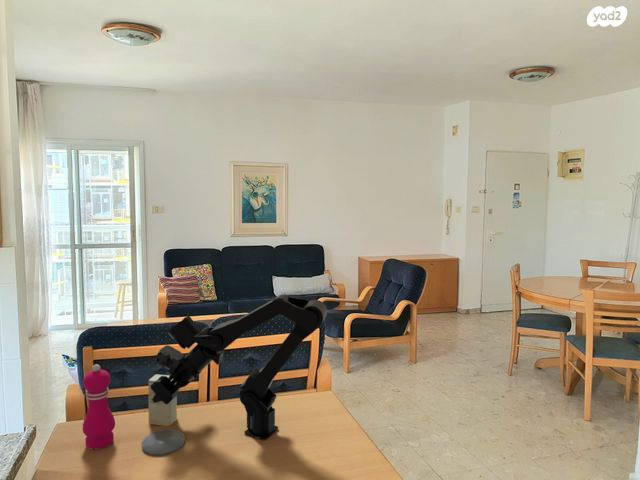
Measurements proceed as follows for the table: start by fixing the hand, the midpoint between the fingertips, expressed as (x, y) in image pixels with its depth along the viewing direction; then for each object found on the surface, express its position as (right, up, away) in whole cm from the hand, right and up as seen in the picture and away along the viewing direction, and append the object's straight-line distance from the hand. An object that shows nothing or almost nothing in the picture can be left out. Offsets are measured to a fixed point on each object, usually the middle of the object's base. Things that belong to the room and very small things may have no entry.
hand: (157, 397), depth 127 cm
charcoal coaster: (+5, -8, -10) cm, 14 cm away
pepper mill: (-11, -8, -10) cm, 17 cm away
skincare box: (+1, -7, +1) cm, 7 cm away
